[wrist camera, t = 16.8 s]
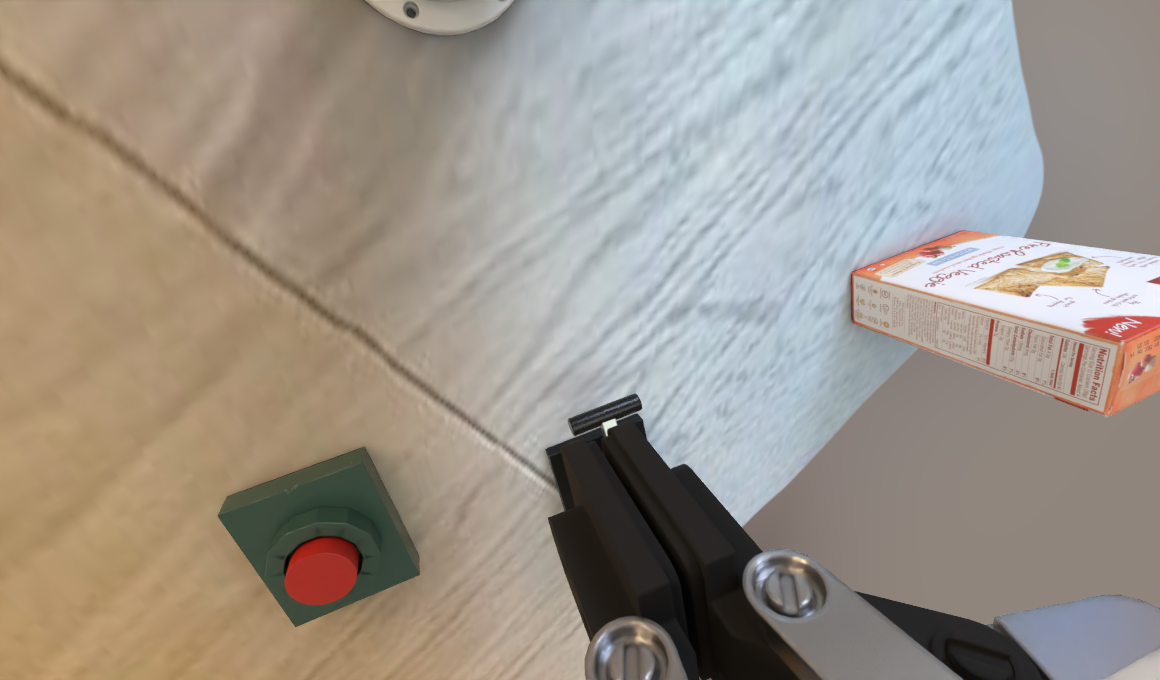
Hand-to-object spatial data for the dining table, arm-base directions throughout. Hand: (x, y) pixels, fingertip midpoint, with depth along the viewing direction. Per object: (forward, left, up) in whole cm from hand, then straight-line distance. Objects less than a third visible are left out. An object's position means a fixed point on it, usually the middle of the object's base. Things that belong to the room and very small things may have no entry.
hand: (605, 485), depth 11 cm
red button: (+7, -24, -24) cm, 35 cm away
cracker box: (+33, +28, -28) cm, 52 cm away
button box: (+7, -24, -28) cm, 37 cm away
